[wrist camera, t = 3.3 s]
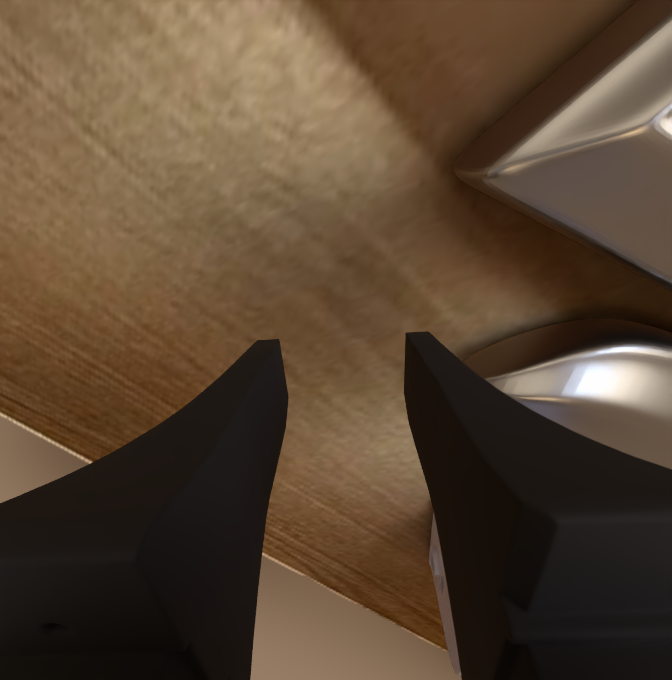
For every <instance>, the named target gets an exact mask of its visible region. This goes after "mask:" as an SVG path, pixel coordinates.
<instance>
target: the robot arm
mask: <svg viewBox="0 0 672 680" xmlns="http://www.w3.org/2000/svg"><path fill="white" fill-rule="evenodd" d="M404 395H405V402H406V408H407V414H408V420H409V425H410V428H411V432H412V435H413V439H414V442H415V446H416V449H417V453H418V456H419V459H420V463H421V466H422V470H423V473H424V476H425V480H426V483H427V486H428V490H429V494H430V498H431V502H432V506H433V521H432V531H431V542H430V552H429V565H430V566H431V569H432V573H433V578H434V583H435V588H436V593H437V599H438V604H439V609H440V614H441V619H442V624H443V629H444V634H445V639H446V644H447V648H448V652H449V656H450V659H451V662H452V666H453V668H454V671H455V673H456V674H458V675H460V676H462V680H672V469H669V468H666V467H664V466H661V465H658V464H655V463H652V462H649V461H646V460H643V459H640V458H637V457H634V456H632V455H629V454H626V453H624V452H621V451H619V450H617V449H614V448H612V447H609V446H607V445H604V444H602V443H599V442H597V441H594V440H592V439H590V438H588V437H585V436H583V435H581V434H579V433H576V432H574V431H572V430H570V429H568V428H566V427H564V426H562V425H560V424H558V423H556V422H554V421H552V420H550V419H548V418H546V417H544V416H542V415H540V414H538V413H537V412H535V411H533V410H531V409H529V408H528V407H526V406H524V405H523V404H521V403H519V402H518V401H516V400H514V399H513V398H511V397H509V396H508V395H506V394H505V393H503V392H502V391H500V390H499V389H497V388H496V387H495V386H493V385H492V384H490V383H489V382H488V381H486V380H485V379H483V378H482V377H481V376H479V375H478V374H477V373H475V372H474V371H473V370H472V369H470V368H469V367H468V366H467V365H465V364H464V363H463V362H462V361H461V360H459V359H458V358H457V357H456V356H455V355H454V354H452V353H451V352H450V351H449V350H448V349H447V348H446V347H445V346H444V345H442V344H441V343H440V342H439V341H438V340H437V339H436V338H435V337H434V336H433V335H432V334H430V333H429V332H409V333H406V341H405V375H404ZM287 408H288V391H287V385H286V379H285V372H284V366H283V360H282V354H281V347H280V341H279V339H272V340H257V341H256V342H255V343H254V344H253V345H252V346H251V347H250V348H249V349H248V350H247V351H246V352H245V353H244V354H243V355H242V356H241V357H240V358H239V359H238V360H237V361H236V362H235V363H234V364H233V365H232V366H231V367H230V368H229V369H227V370H226V371H225V372H224V373H223V374H222V375H221V376H220V377H219V378H218V379H217V380H216V381H214V382H213V383H212V384H211V385H210V386H209V387H207V388H206V389H205V390H204V391H203V392H202V393H200V394H199V395H198V396H197V397H196V398H195V399H193V400H192V401H191V402H190V403H188V404H187V405H186V406H184V407H183V408H182V409H180V410H179V411H178V412H176V413H175V414H173V415H172V416H171V417H169V418H168V419H166V420H165V421H163V422H162V423H160V424H159V425H157V426H156V427H154V428H153V429H151V430H149V431H148V432H146V433H144V434H143V435H141V436H139V437H138V438H136V439H134V440H133V441H131V442H129V443H128V444H126V445H124V446H123V447H121V448H119V449H117V450H116V451H114V452H112V453H110V454H108V455H106V456H104V457H102V458H101V459H99V460H97V461H95V462H93V463H91V464H89V465H87V466H85V467H83V468H81V469H79V470H77V471H74V472H72V473H70V474H68V475H66V476H64V477H62V478H60V479H57V480H55V481H52V482H50V483H48V484H45V485H43V486H41V487H38V488H36V489H34V490H31V491H29V492H27V493H24V494H22V495H20V496H17V497H15V498H13V499H10V500H8V501H5V502H3V503H0V680H250V675H251V662H252V650H253V638H254V627H255V616H256V606H257V595H258V585H259V576H260V567H261V558H262V548H263V540H264V532H265V524H266V516H267V510H268V504H269V499H270V494H271V490H272V486H273V481H274V477H275V473H276V468H277V464H278V460H279V455H280V451H281V446H282V442H283V438H284V433H285V428H286V419H287Z"/></svg>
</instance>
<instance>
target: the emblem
mask: <svg viewBox="0 0 672 680" xmlns="http://www.w3.org/2000/svg"><path fill="white" fill-rule="evenodd" d="M453 171H454V173H455V174H456V175H457V177H458V178H459V179H461V180H462V181H463V182H465V183H466V184H468V185H469V186H471V187H473V188H475V189H476V190H478V191H480V192H482V193H484V194H486V195H487V196H489V197H491V198H493V199H495V200H497V201H499V202H501V203H503V204H505V205H506V206H508V207H510V208H512V209H514V210H516V211H518V212H520V213H522V214H524V215H526V216H527V217H529V218H531V219H533V220H535V221H537V222H539V223H541V224H543V225H545V226H547V227H549V228H550V229H552V230H554V231H556V232H558V233H560V234H562V235H564V236H566V237H568V238H570V239H572V240H573V241H575V242H577V243H579V244H581V245H583V246H585V247H587V248H589V249H591V250H593V251H595V252H596V253H598V254H600V255H602V256H604V257H606V258H608V259H610V260H612V261H614V262H616V263H618V264H620V265H621V266H623V267H625V268H627V269H629V270H631V271H633V272H635V273H637V274H639V275H641V276H643V277H645V278H646V279H648V280H650V281H652V282H654V283H656V284H658V285H660V286H662V287H664V288H666V289H668V290H670V291H672V0H639V1H638V2H636V3H635V4H634V5H633V6H632V7H631V8H629V9H628V10H627V11H626V12H625V13H623V14H622V15H621V16H620V17H619V18H618V19H616V20H615V21H614V22H613V23H612V24H611V25H609V26H608V27H607V28H606V29H605V30H604V31H602V32H601V33H600V34H599V35H598V36H596V37H595V38H594V39H593V40H592V41H591V42H589V43H588V44H587V45H586V46H585V47H584V48H582V49H581V50H580V51H579V52H578V53H577V54H575V55H574V56H573V57H572V58H571V59H570V60H568V61H567V62H566V63H565V64H564V65H562V66H561V67H560V68H559V69H558V70H557V71H555V72H554V73H553V74H552V75H551V76H550V77H548V78H547V79H546V80H545V81H544V82H543V83H541V84H540V85H539V86H538V87H537V88H535V89H534V90H533V91H532V92H531V93H530V94H528V95H527V96H526V97H525V98H524V99H523V100H521V101H520V102H519V103H518V104H517V105H516V106H514V107H513V108H512V109H511V110H510V111H509V112H507V113H506V114H505V115H504V116H503V117H501V118H500V119H499V120H498V121H497V122H496V123H494V124H493V125H492V126H491V127H490V128H489V129H488V130H486V131H485V132H484V133H483V134H482V135H481V136H479V137H478V138H477V139H476V140H475V141H474V142H473V143H472V144H470V145H469V146H468V147H467V148H466V149H465V150H464V151H463V152H462V153H461V154H460V155H459V156H458V157H457V159H456V160H455V162H454V164H453ZM463 363H464V364H465V365H467V366H468V367H469V368H470V369H472V370H473V371H474V372H475V373H477V374H478V375H479V376H481V377H482V378H483V379H485V380H486V381H488V382H489V383H490V384H492V385H493V386H495V387H496V388H497V389H499V390H500V391H502V392H503V393H505V394H506V395H508V396H509V397H511V398H513V399H514V400H516V401H518V402H519V403H521V404H523V405H524V406H526V407H528V408H529V409H531V410H533V411H535V412H537V413H538V414H540V415H542V416H544V417H546V418H548V419H550V420H552V421H554V422H556V423H558V424H560V425H562V426H564V427H566V428H568V429H570V430H572V431H574V432H576V433H579V434H581V435H583V436H585V437H588V438H590V439H592V440H594V441H597V442H599V443H602V444H604V445H607V446H609V447H612V448H614V449H617V450H619V451H621V452H624V453H626V454H629V455H632V456H634V457H637V458H640V459H643V460H646V461H649V462H652V463H655V464H658V465H661V466H664V467H666V468H669V469H672V333H671V332H668V331H665V330H662V329H659V328H656V327H652V326H649V325H645V324H641V323H637V322H632V321H626V320H619V319H582V320H575V321H568V322H563V323H558V324H554V325H550V326H546V327H542V328H538V329H535V330H531V331H528V332H525V333H522V334H519V335H516V336H513V337H511V338H508V339H505V340H503V341H500V342H498V343H495V344H493V345H491V346H489V347H486V348H484V349H482V350H480V351H478V352H476V353H475V354H473V355H471V356H470V357H468V358H467V359H466V360H464V361H463Z"/></svg>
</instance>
